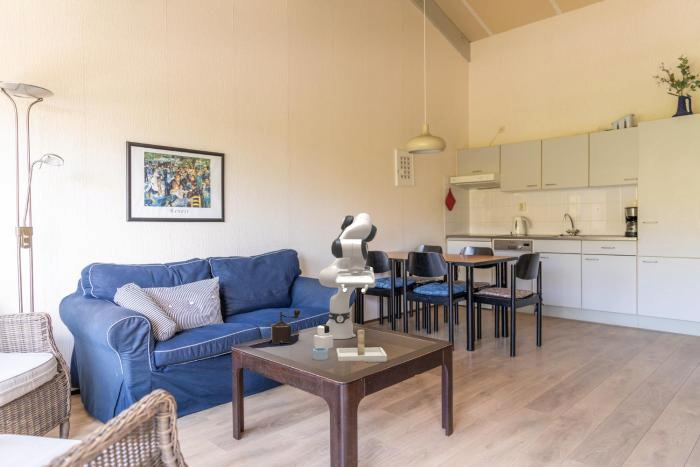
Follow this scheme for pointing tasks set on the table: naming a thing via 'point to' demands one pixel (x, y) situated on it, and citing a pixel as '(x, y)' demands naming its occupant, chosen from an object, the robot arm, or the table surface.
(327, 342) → the medicine bottle
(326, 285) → the robot arm
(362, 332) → the dowel
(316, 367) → the table surface
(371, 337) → the table surface
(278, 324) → the brown coffee grinder
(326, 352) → the cup
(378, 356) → the tray
